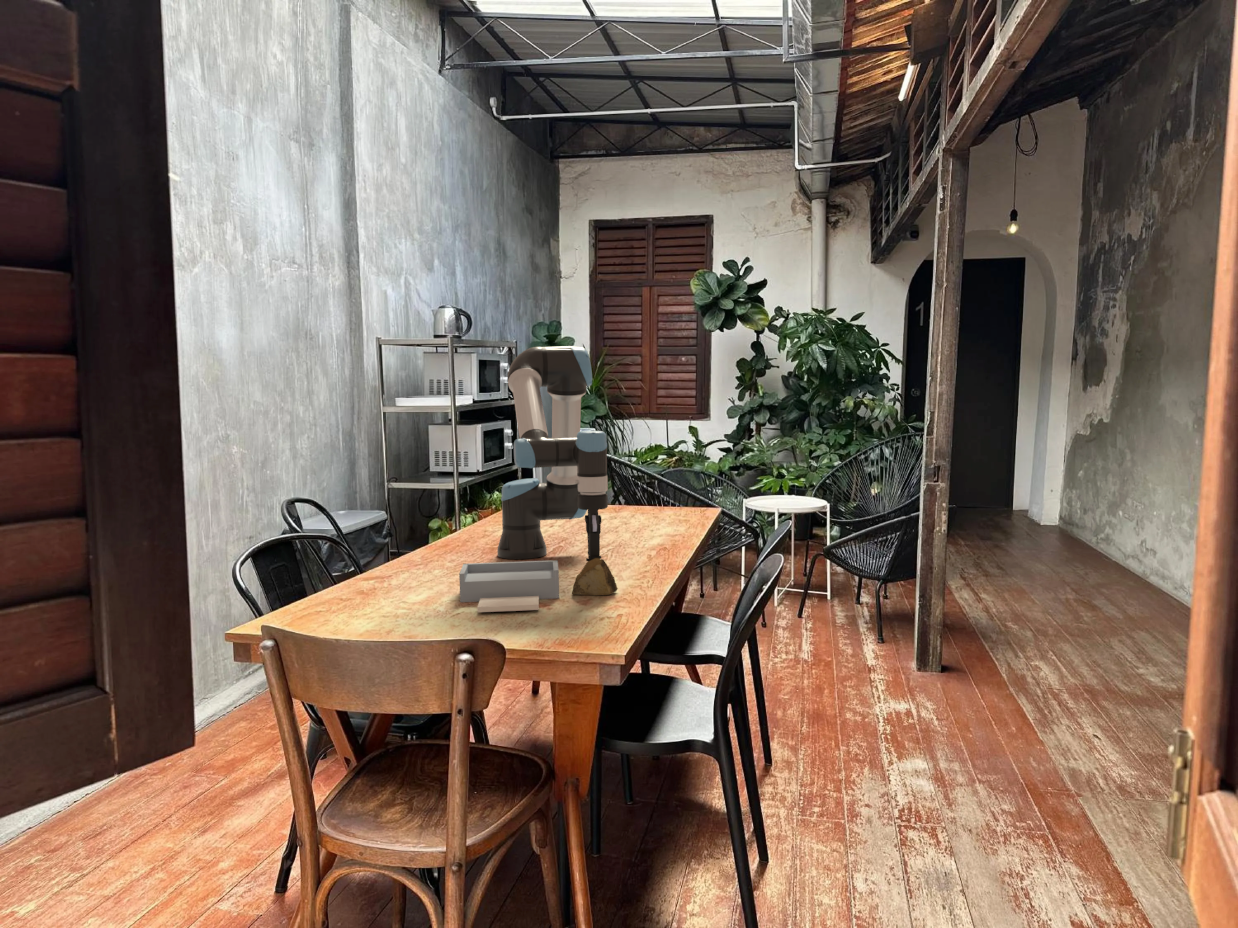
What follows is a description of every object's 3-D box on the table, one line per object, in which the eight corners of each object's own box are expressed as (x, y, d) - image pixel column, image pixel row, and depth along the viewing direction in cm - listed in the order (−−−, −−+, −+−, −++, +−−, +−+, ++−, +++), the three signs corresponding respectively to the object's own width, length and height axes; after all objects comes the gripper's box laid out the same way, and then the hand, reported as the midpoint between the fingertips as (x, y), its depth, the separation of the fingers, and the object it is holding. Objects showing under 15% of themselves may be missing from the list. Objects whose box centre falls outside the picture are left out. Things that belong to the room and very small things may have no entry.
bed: (464, 590, 218) (463, 563, 217) (558, 586, 220) (557, 560, 219) (460, 602, 206) (459, 573, 205) (559, 598, 208) (558, 570, 207)
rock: (561, 589, 208) (594, 591, 203) (568, 556, 211) (601, 557, 206) (584, 601, 217) (617, 603, 211) (591, 569, 220) (623, 570, 214)
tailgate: (480, 598, 204) (477, 606, 193) (538, 595, 206) (538, 604, 195) (480, 603, 204) (477, 612, 193) (538, 600, 206) (538, 609, 195)
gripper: (576, 490, 218) (578, 580, 220) (578, 496, 205) (580, 592, 207) (605, 489, 219) (607, 579, 221) (609, 495, 206) (611, 590, 208)
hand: (594, 585), depth 214 cm, fingers closed
